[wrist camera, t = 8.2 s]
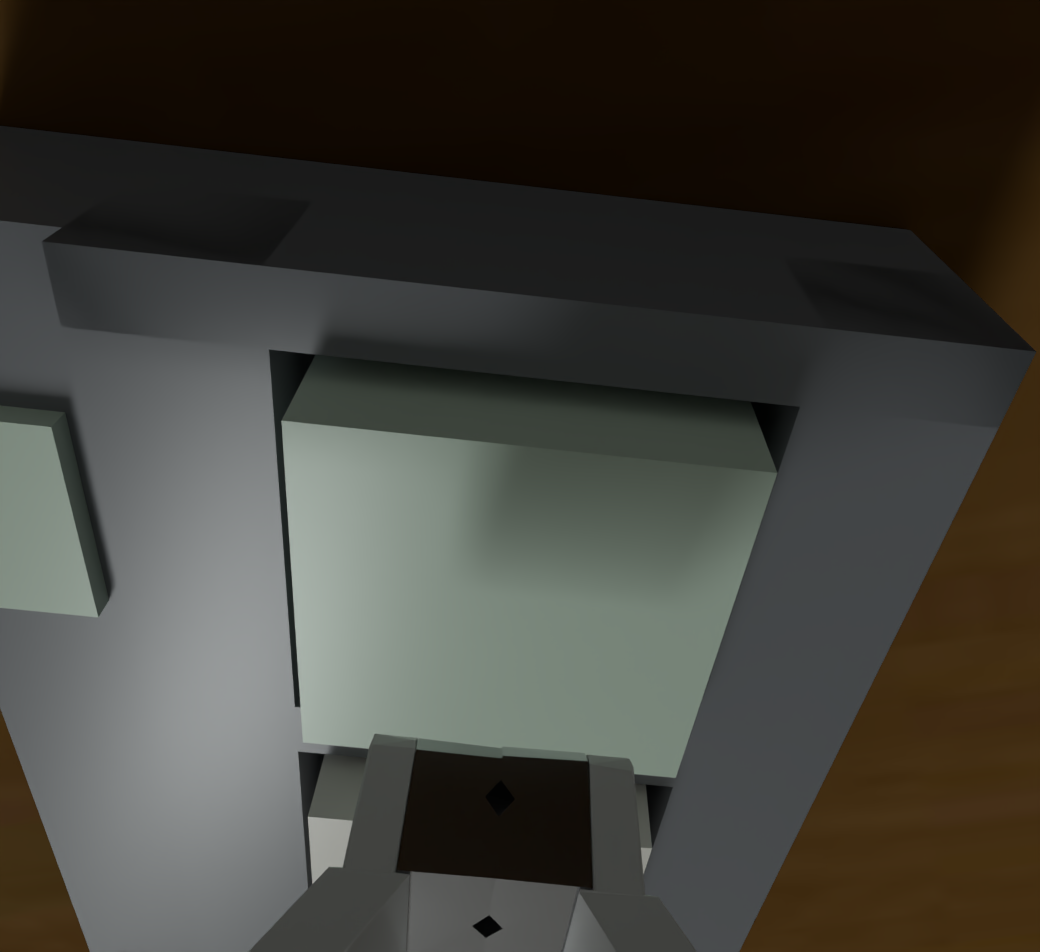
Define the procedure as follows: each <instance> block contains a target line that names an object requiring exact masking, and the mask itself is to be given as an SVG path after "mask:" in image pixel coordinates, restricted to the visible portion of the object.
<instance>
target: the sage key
mask: <svg viewBox="0 0 1040 952" xmlns="http://www.w3.org/2000/svg"><path fill="white" fill-rule="evenodd" d="M281 422H282V437H283V452H284V467H285V482H286V497H287V512H288V527H289V542H290V557H291V572H292V587H293V602H294V617H295V632H296V647H297V662H298V677H299V692H300V707H301V722H302V737H303V743H314V744H324V745H335V746H345V747H356V748H366V749H369V746H370V744H371V741H372V739H373V737H374V734H385V735H394V736H404V737H414V738H418V739H419V738H422V739H430V740H438V741H447V742H455V743H463V744H471V745H480V746H488V747H496V748H502V746H503V747H516V748H528V749H541V750H553V751H565V752H578V753H585V755H598V756H610V757H622V758H629V759H630V761H631V763H632V765H633V767H634V774H639V775H650V776H660V777H671V778H676V775H677V772H678V769H679V766H680V763H681V761H682V758H683V755H684V752H685V749H686V746H687V743H688V740H689V737H690V734H691V731H692V728H693V725H694V722H695V719H696V716H697V713H698V710H699V707H700V704H701V701H702V698H703V695H704V692H705V689H706V686H707V683H708V680H709V677H710V674H711V671H712V668H713V665H714V662H715V659H716V656H717V653H718V650H719V647H720V644H721V641H722V638H723V635H724V632H725V629H726V626H727V623H728V620H729V617H730V614H731V611H732V608H733V605H734V602H735V599H736V596H737V593H738V590H739V587H740V584H741V581H742V578H743V575H744V572H745V569H746V566H747V563H748V560H749V557H750V554H751V551H752V548H753V545H754V542H755V539H756V536H757V533H758V530H759V527H760V524H761V521H762V518H763V515H764V512H765V509H766V506H767V503H768V500H769V497H770V494H771V491H772V488H773V485H774V482H775V479H776V476H777V471H776V468H775V465H774V463H773V460H772V457H771V455H770V452H769V449H768V447H767V444H766V441H765V439H764V436H763V433H762V431H761V428H760V426H759V423H758V420H757V418H756V415H755V412H754V410H753V407H752V404H751V402H750V401H741V400H732V399H723V398H713V397H704V396H695V395H686V394H676V393H667V392H658V391H649V390H639V389H630V388H621V387H612V386H602V385H593V384H584V383H575V382H565V381H556V380H547V379H538V378H528V377H519V376H510V375H501V374H491V373H482V372H473V371H464V370H454V369H445V368H436V367H427V366H418V365H408V364H399V363H390V362H381V361H371V360H362V359H353V358H344V357H334V356H325V355H315V357H314V359H313V361H312V363H311V364H310V366H309V368H308V370H307V372H306V374H305V376H304V378H303V380H302V382H301V384H300V386H299V388H298V390H297V392H296V393H295V395H294V397H293V399H292V401H291V403H290V405H289V407H288V409H287V411H286V413H285V415H284V417H283V419H282V420H281Z"/></svg>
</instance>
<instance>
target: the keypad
mask: <svg viewBox="0 0 1040 952" xmlns="http://www.w3.org/2000/svg"><path fill="white" fill-rule="evenodd" d="M1035 353H1036V351H1035V350H1034V349H1033V348H1032V347H1031V346H1030V345H1029V344H1028V343H1027V342H1026V341H1025V340H1024V339H1023V338H1021V337H1020V336H1019V335H1018V334H1017V333H1016V332H1015V331H1014V330H1013V329H1012V328H1011V327H1010V326H1009V325H1008V324H1007V323H1006V322H1005V321H1004V320H1003V319H1002V318H1001V317H1000V316H999V315H998V314H997V313H996V312H995V311H994V310H993V309H992V308H990V307H989V306H988V305H987V304H986V303H985V302H984V301H983V300H982V299H981V298H980V297H979V296H978V295H977V294H976V293H975V292H974V291H973V290H972V289H971V288H970V287H969V286H968V285H967V284H966V283H965V282H964V281H963V280H962V279H960V278H959V277H958V276H957V275H956V274H955V273H954V272H953V271H952V270H951V269H950V268H949V267H948V266H947V265H946V264H945V263H944V262H943V261H942V260H941V259H940V258H939V257H938V256H937V255H936V254H935V253H934V252H933V251H932V250H930V249H929V248H928V247H927V246H926V245H925V244H924V243H923V242H922V241H921V240H920V239H919V238H918V237H917V236H916V235H915V234H914V233H913V232H912V231H911V230H906V229H897V228H889V227H880V226H871V225H862V224H854V223H845V222H836V221H827V220H819V219H810V218H801V217H793V216H784V215H775V214H766V213H758V212H749V211H740V210H731V209H723V208H714V207H705V206H697V205H688V204H679V203H670V202H662V201H653V200H644V199H636V198H627V197H618V196H609V195H601V194H592V193H583V192H574V191H566V190H557V189H548V188H539V187H531V186H522V185H513V184H505V183H496V182H487V181H478V180H470V179H461V178H452V177H444V176H435V175H426V174H417V173H409V172H400V171H391V170H382V169H374V168H365V167H356V166H348V165H339V164H330V163H321V162H313V161H304V160H295V159H286V158H278V157H269V156H260V155H252V154H243V153H234V152H225V151H217V150H208V149H199V148H190V147H182V146H173V145H164V144H156V143H147V142H138V141H129V140H121V139H112V138H103V137H94V136H86V135H77V134H68V133H60V132H51V131H42V130H33V129H25V128H16V127H7V126H0V708H1V711H2V714H3V716H4V719H5V722H6V725H7V727H8V730H9V733H10V735H11V738H12V741H13V744H14V746H15V749H16V752H17V754H18V757H19V760H20V763H21V765H22V768H23V771H24V773H25V776H26V779H27V782H28V784H29V787H30V790H31V792H32V795H33V798H34V800H35V803H36V806H37V809H38V811H39V814H40V817H41V819H42V822H43V825H44V828H45V830H46V833H47V836H48V838H49V841H50V844H51V847H52V849H53V852H54V855H55V857H56V860H57V863H58V866H59V868H60V871H61V874H62V876H63V879H64V882H65V885H66V887H67V890H68V893H69V895H70V898H71V901H72V904H73V906H74V909H75V912H76V914H77V917H78V920H79V923H80V925H81V928H82V931H83V933H84V936H85V939H86V942H87V944H88V947H89V950H90V952H248V951H249V950H250V949H251V948H252V947H253V946H254V945H255V944H256V943H257V942H258V941H259V940H260V939H261V938H262V937H263V936H264V935H265V934H266V933H267V931H268V930H269V929H270V928H271V927H272V926H273V925H274V924H275V923H276V922H277V921H278V920H279V919H280V918H281V917H282V916H283V915H284V914H285V913H286V911H287V910H288V909H289V908H290V907H291V906H292V905H293V904H294V903H295V902H296V901H297V900H298V899H299V898H300V897H301V896H302V895H303V894H304V893H305V891H306V890H307V889H308V888H309V887H310V886H311V885H312V871H311V856H310V841H309V826H308V814H309V810H310V807H311V803H312V799H313V796H314V792H315V788H316V784H317V781H318V777H319V773H320V770H321V766H322V762H323V758H324V755H325V754H330V755H341V756H351V757H362V758H367V754H368V750H369V749H366V748H356V747H345V746H335V745H324V744H314V743H303V737H302V722H301V707H300V692H299V677H298V662H297V647H296V632H295V617H294V602H293V587H292V572H291V557H290V542H289V527H288V512H287V497H286V482H285V467H284V452H283V437H282V422H281V420H282V419H283V417H284V415H285V413H286V411H287V409H288V407H289V405H290V403H291V401H292V399H293V397H294V395H295V393H296V392H297V390H298V388H299V386H300V384H301V382H302V380H303V378H304V376H305V374H306V372H307V370H308V368H309V366H310V364H311V363H312V361H313V359H314V357H315V355H325V356H334V357H344V358H353V359H362V360H371V361H381V362H390V363H399V364H408V365H418V366H427V367H436V368H445V369H454V370H464V371H473V372H482V373H491V374H501V375H510V376H519V377H528V378H538V379H547V380H556V381H565V382H575V383H584V384H593V385H602V386H612V387H621V388H630V389H639V390H649V391H658V392H667V393H676V394H686V395H695V396H704V397H713V398H723V399H732V400H741V401H750V402H751V404H752V407H753V410H754V412H755V415H756V418H757V420H758V423H759V426H760V428H761V431H762V433H763V436H764V439H765V441H766V444H767V447H768V449H769V452H770V455H771V457H772V460H773V463H774V465H775V468H776V471H777V476H776V479H775V482H774V485H773V488H772V491H771V494H770V497H769V500H768V503H767V506H766V509H765V512H764V515H763V518H762V521H761V524H760V527H759V530H758V533H757V536H756V539H755V542H754V545H753V548H752V551H751V554H750V557H749V560H748V563H747V566H746V569H745V572H744V575H743V578H742V581H741V584H740V587H739V590H738V593H737V596H736V599H735V602H734V605H733V608H732V611H731V614H730V617H729V620H728V623H727V626H726V629H725V632H724V635H723V638H722V641H721V644H720V647H719V650H718V653H717V656H716V659H715V662H714V665H713V668H712V671H711V674H710V677H709V680H708V683H707V686H706V689H705V692H704V695H703V698H702V701H701V704H700V707H699V710H698V713H697V716H696V719H695V722H694V725H693V728H692V731H691V734H690V737H689V740H688V743H687V746H686V749H685V752H684V755H683V758H682V761H681V763H680V766H679V769H678V772H677V775H676V778H671V777H660V776H650V775H639V774H634V777H635V783H636V784H646V792H647V802H648V812H649V822H650V832H651V842H652V850H651V853H650V856H649V859H648V862H647V865H646V868H645V871H644V874H643V876H644V887H645V895H649V896H656V897H659V898H660V900H661V901H662V903H663V904H664V905H665V907H666V908H667V910H668V911H669V913H670V914H671V915H672V917H673V918H674V920H675V921H676V923H677V924H678V925H679V927H680V928H681V930H682V931H683V933H684V934H685V935H686V937H687V938H688V940H689V941H690V943H691V944H692V945H693V947H694V948H695V950H696V951H697V952H739V951H740V949H741V947H742V945H743V943H744V941H745V939H746V937H747V934H748V932H749V930H750V928H751V926H752V924H753V922H754V920H755V918H756V916H757V914H758V912H759V910H760V908H761V906H762V904H763V902H764V900H765V898H766V896H767V894H768V892H769V890H770V888H771V886H772V884H773V882H774V880H775V878H776V876H777V874H778V872H779V870H780V868H781V866H782V864H783V862H784V860H785V858H786V856H787V854H788V852H789V850H790V848H791V846H792V844H793V842H794V840H795V838H796V836H797V834H798V832H799V830H800V827H801V825H802V823H803V821H804V819H805V817H806V815H807V813H808V811H809V809H810V807H811V805H812V803H813V801H814V799H815V797H816V795H817V793H818V791H819V789H820V787H821V785H822V783H823V781H824V779H825V777H826V775H827V773H828V771H829V769H830V767H831V765H832V763H833V761H834V759H835V757H836V755H837V753H838V751H839V749H840V747H841V745H842V743H843V741H844V739H845V737H846V735H847V733H848V731H849V729H850V727H851V725H852V723H853V721H854V718H855V716H856V714H857V712H858V710H859V708H860V706H861V704H862V702H863V700H864V698H865V696H866V694H867V692H868V690H869V688H870V686H871V684H872V682H873V680H874V678H875V676H876V674H877V672H878V670H879V668H880V666H881V664H882V662H883V660H884V658H885V656H886V654H887V652H888V650H889V648H890V646H891V644H892V642H893V640H894V638H895V636H896V634H897V632H898V630H899V628H900V626H901V624H902V622H903V620H904V618H905V616H906V614H907V611H908V609H909V607H910V605H911V603H912V601H913V599H914V597H915V595H916V593H917V591H918V589H919V587H920V585H921V583H922V581H923V579H924V577H925V575H926V573H927V571H928V569H929V567H930V565H931V563H932V561H933V559H934V557H935V555H936V553H937V551H938V549H939V547H940V545H941V543H942V541H943V539H944V537H945V535H946V533H947V531H948V529H949V527H950V525H951V523H952V521H953V519H954V517H955V515H956V513H957V511H958V509H959V507H960V505H961V502H962V500H963V498H964V496H965V494H966V492H967V490H968V488H969V486H970V484H971V482H972V480H973V478H974V476H975V474H976V472H977V470H978V468H979V466H980V464H981V462H982V460H983V458H984V456H985V454H986V452H987V450H988V448H989V446H990V444H991V442H992V440H993V438H994V436H995V434H996V432H997V430H998V428H999V426H1000V424H1001V422H1002V420H1003V418H1004V416H1005V414H1006V412H1007V410H1008V408H1009V406H1010V404H1011V402H1012V400H1013V398H1014V396H1015V393H1016V391H1017V389H1018V387H1019V385H1020V383H1021V381H1022V379H1023V377H1024V375H1025V373H1026V371H1027V369H1028V367H1029V365H1030V363H1031V361H1032V359H1033V357H1034V355H1035Z"/></svg>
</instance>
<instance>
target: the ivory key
mask: <svg viewBox="0 0 1040 952" xmlns="http://www.w3.org/2000/svg"><path fill="white" fill-rule="evenodd" d="M366 759H367V758H362V757H351V756H341V755H330V754H325V755H324V758H323V762H322V766H321V770H320V773H319V777H318V781H317V784H316V788H315V792H314V796H313V799H312V803H311V807H310V810H309V814H308V826H309V841H310V856H311V871H312V884H313V883H314V882H315V881H316V880H317V879H318V878H319V877H320V876H321V875H322V874H323V873H324V872H325V870H326V869H327V868H328V867H343V863H344V858H345V854H346V849H347V845H348V840H349V836H350V831H351V827H352V822H353V818H354V813H355V809H356V804H357V800H358V795H359V791H360V786H361V782H362V777H363V773H364V768H365V764H366ZM635 788H636V799H637V810H638V821H639V832H640V843H641V854H642V865H643V874H644V871H645V868H646V865H647V862H648V859H649V856H650V853H651V850H652V842H651V832H650V822H649V812H648V802H647V792H646V784H636V783H635Z"/></svg>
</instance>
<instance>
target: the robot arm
mask: <svg viewBox="0 0 1040 952" xmlns="http://www.w3.org/2000/svg"><path fill="white" fill-rule="evenodd" d="M248 952H697V951H696V950H695V948H694V947H693V945H692V944H691V943H690V941H689V940H688V938H687V937H686V935H685V934H684V933H683V931H682V930H681V928H680V927H679V925H678V924H677V923H676V921H675V920H674V918H673V917H672V915H671V914H670V913H669V911H668V910H667V908H666V907H665V905H664V904H663V903H662V901H661V900H660V898H659V897H656V896H649V895H645V887H644V876H643V865H642V854H641V843H640V832H639V821H638V810H637V799H636V788H635V777H634V767H633V765H632V763H631V761H630V759H629V758H622V757H610V756H598V755H585V753H578V752H565V751H553V750H541V749H528V748H516V747H503V746H502V748H496V747H488V746H480V745H471V744H463V743H455V742H447V741H438V740H430V739H422V738H419V739H418V738H414V737H404V736H394V735H385V734H374V737H373V739H372V741H371V744H370V746H369V750H368V754H367V759H366V764H365V768H364V773H363V777H362V782H361V786H360V791H359V795H358V800H357V804H356V809H355V813H354V818H353V822H352V827H351V831H350V836H349V840H348V845H347V849H346V854H345V858H344V863H343V867H328V868H327V869H326V870H325V872H324V873H323V874H322V875H321V876H320V877H319V878H318V879H317V880H316V881H315V882H314V883H313V884H312V885H311V886H310V887H309V888H308V889H307V890H306V891H305V893H304V894H303V895H302V896H301V897H300V898H299V899H298V900H297V901H296V902H295V903H294V904H293V905H292V906H291V907H290V908H289V909H288V910H287V911H286V913H285V914H284V915H283V916H282V917H281V918H280V919H279V920H278V921H277V922H276V923H275V924H274V925H273V926H272V927H271V928H270V929H269V930H268V931H267V933H266V934H265V935H264V936H263V937H262V938H261V939H260V940H259V941H258V942H257V943H256V944H255V945H254V946H253V947H252V948H251V949H250V950H249V951H248Z"/></svg>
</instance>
